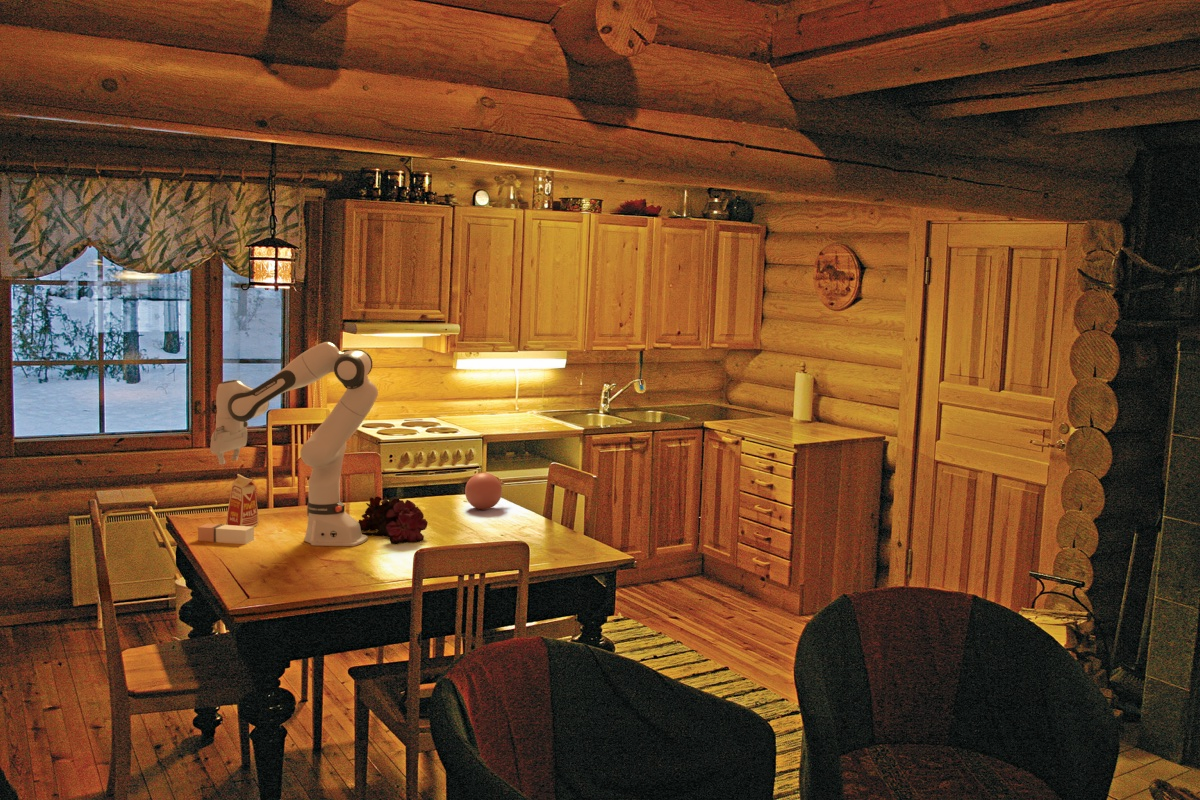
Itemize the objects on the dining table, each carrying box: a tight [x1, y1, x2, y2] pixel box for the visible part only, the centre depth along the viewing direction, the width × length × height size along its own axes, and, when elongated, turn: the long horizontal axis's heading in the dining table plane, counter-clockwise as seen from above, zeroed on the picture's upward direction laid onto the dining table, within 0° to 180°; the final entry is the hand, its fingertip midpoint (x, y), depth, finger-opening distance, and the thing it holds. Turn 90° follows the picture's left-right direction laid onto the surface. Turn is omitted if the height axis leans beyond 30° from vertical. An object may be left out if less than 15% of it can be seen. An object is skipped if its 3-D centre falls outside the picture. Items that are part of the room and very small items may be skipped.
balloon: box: [464, 472, 505, 511], centre depth 450 cm, size 15×20×15 cm
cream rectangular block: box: [213, 523, 255, 545], centre depth 383 cm, size 12×6×5 cm, turn 81°
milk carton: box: [225, 473, 260, 528], centre depth 407 cm, size 9×9×20 cm
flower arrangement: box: [358, 496, 428, 545], centre depth 400 cm, size 31×20×15 cm, turn 47°
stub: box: [197, 523, 223, 543], centre depth 385 cm, size 6×6×5 cm
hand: (228, 462), depth 387 cm, fingers open, 8 cm apart
